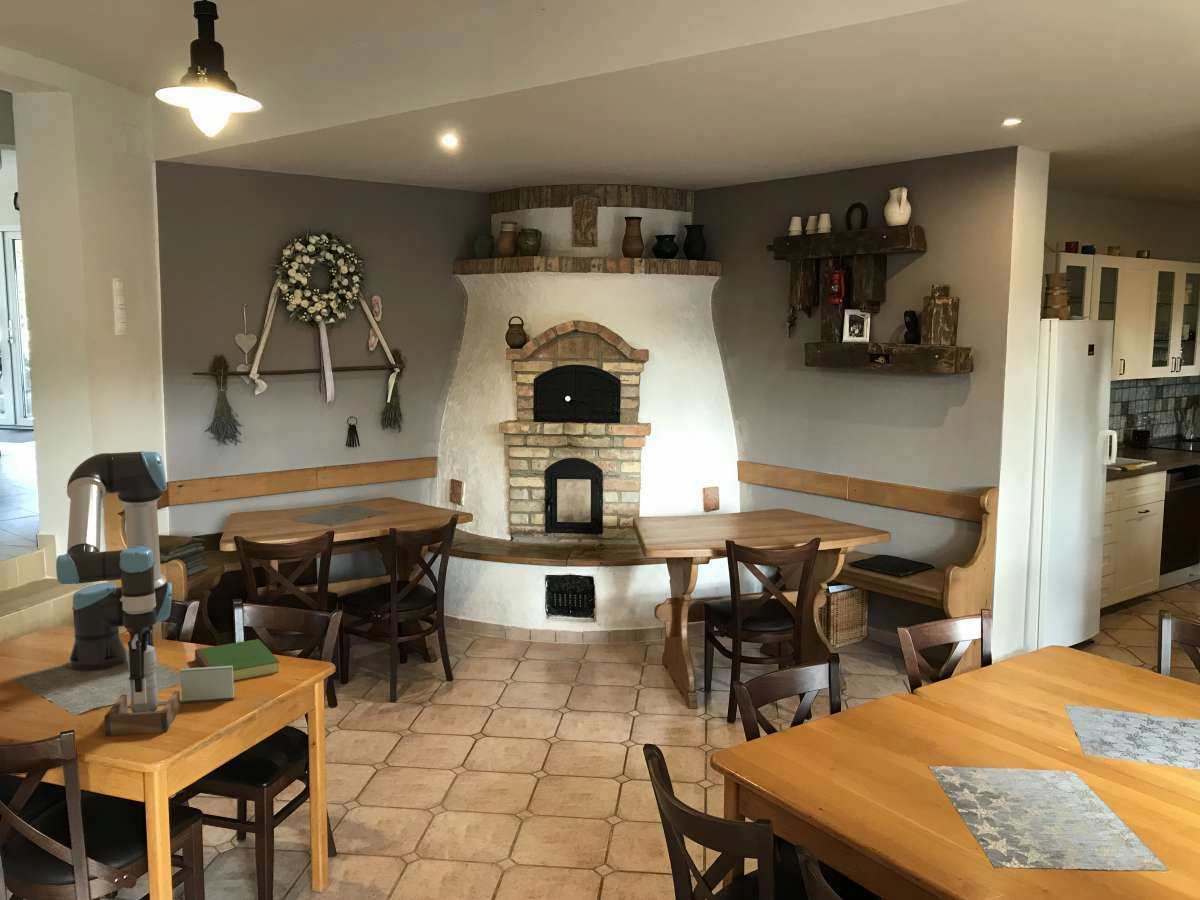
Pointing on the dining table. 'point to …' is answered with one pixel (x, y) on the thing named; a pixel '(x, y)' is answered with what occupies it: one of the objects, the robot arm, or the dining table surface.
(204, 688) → the pale grey flat panel
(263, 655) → the hardcover book
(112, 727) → the cradle
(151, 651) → the bottle
